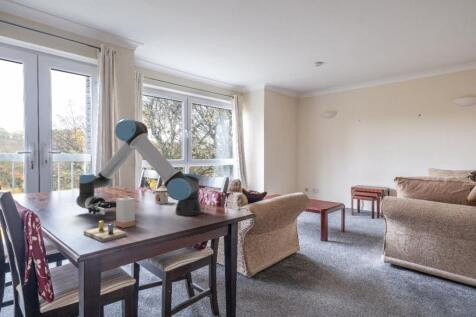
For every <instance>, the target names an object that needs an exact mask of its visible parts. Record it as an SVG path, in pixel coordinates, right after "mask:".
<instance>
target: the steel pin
mask: <svg viewBox="0 0 476 317" xmlns="http://www.w3.org/2000/svg"><path fill="white" fill-rule="evenodd" d="M107 226H108V234H113V228H114V223H113V222H112V223H108V224H107Z"/></svg>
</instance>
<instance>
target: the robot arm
mask: <svg viewBox="0 0 476 317" xmlns="http://www.w3.org/2000/svg"><path fill="white" fill-rule="evenodd" d="M114 134H115V136H116V138H117V139H118V140H120V141H121V142H122V144H121V145H120V146H119V148H118V149H117V150H116V151H115V153H114V154H113V155H112V157H111V158H110V159H109V160H108V161H107V163H106V164H105V165H104V166H103V167H102V169H101V170H100V171H99V172H98V174H97V175H95V174H94V173H92V172H91V173H90V172H89V173H88V172H87V173H80V175H79V181H78V182H79V183H78V185H79V186H78V190H79V192H78V193H79V194H78V195H77V197H76V200H75V203H76V205H77V206H78V207H80V208H81V209H86V210H88V213H89V214H92V215H96V214H100V215H106V210H107V209H112V208H116V200H111V201H106V200H105V199H104V198H103V197H100V196H96V195H95V193H96V192H95V191H96V190H97V189H101V188H106V187H108V186H110V184H111V183H112V178H113V177H114V176H115V174H117V172H118V171H119V170H120V169H121V168H122V167H123V165H124V164H125V163H126V161H127V160H128V159H129V158H130V156H132V154H133V153H134V152H135V151H137V153H138V154H139V155H140V156H141V157H142V158H143V159H144V160H145V161H146V162H147V164H148V165H149V166H150V167H151V169H153V170H154V172H155V173H156V175H158V176H159V177H160V178H161V179H162V181H163V187H164V188H165V189H167V193H168V197H170V198H171V199H173V200H174V201H177V204H176V207H175V211H174V212H175V213H174V214H175V215H177V216H184V217H186V216H199V215H200V214H202V206H201V203H200V200H199V198H200V197H199V196H200V176H199V174H196V173H183V171H181V170H176V168H175V166H173V165H172V164H171V163H170V161H168V160H167V158H166V157H165V156H164V155H163V154H162V152H161V151H160V150H158V148H157V147H156V146H155V145H154V144H153V143H152V141H151V140H150V139H149V137H148V136H149V129H148V126H146V124H145V123H143V122H142V121H138V120H134V119H132V118H131V119H130V118H123V119H121V120H119V121H118V122H117V123H116V125H115V128H114Z"/></svg>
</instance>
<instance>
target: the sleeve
mask: <svg viewBox="0 0 476 317" xmlns="http://www.w3.org/2000/svg"><path fill="white" fill-rule="evenodd" d="M115 201H116V210H115V212H116V215H115V216H116V217H115V221H116V223H115V225H116V227H119V228H122V229H125V228H128V227H134V226H135V224H136V198H135V197H129V196H128V197H122V198H121V197H119V198H116V200H115Z"/></svg>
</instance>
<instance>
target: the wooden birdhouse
mask: <svg viewBox="0 0 476 317" xmlns="http://www.w3.org/2000/svg"><path fill="white" fill-rule="evenodd" d="M154 202H155V204H157V205H165V203H166V204H168V203H169V195H168V193H167V188H166V187H164V185H163V186H162V185H161V186H160V187H157V188H156V189H155V190H154Z"/></svg>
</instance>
